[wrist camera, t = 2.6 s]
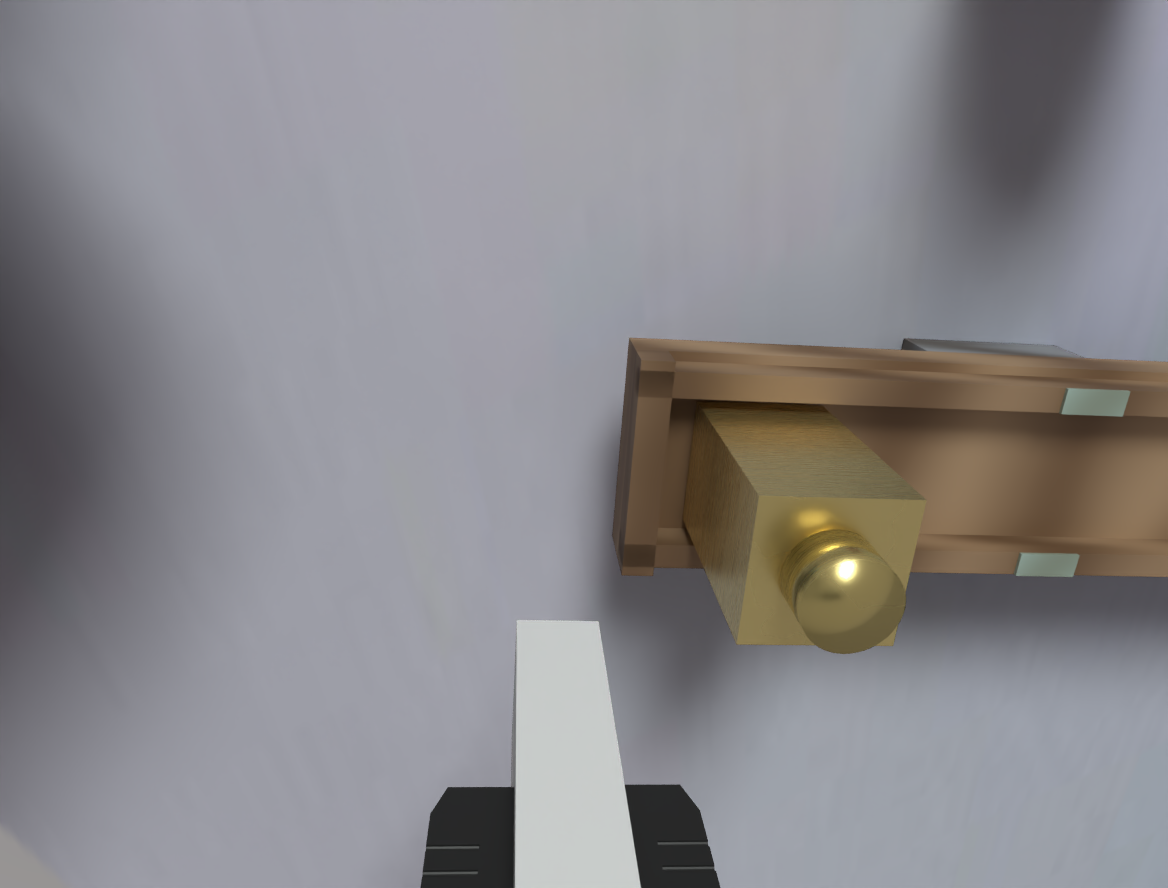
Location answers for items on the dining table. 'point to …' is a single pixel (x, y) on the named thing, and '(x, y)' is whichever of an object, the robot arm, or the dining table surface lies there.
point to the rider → (799, 526)
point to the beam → (928, 447)
